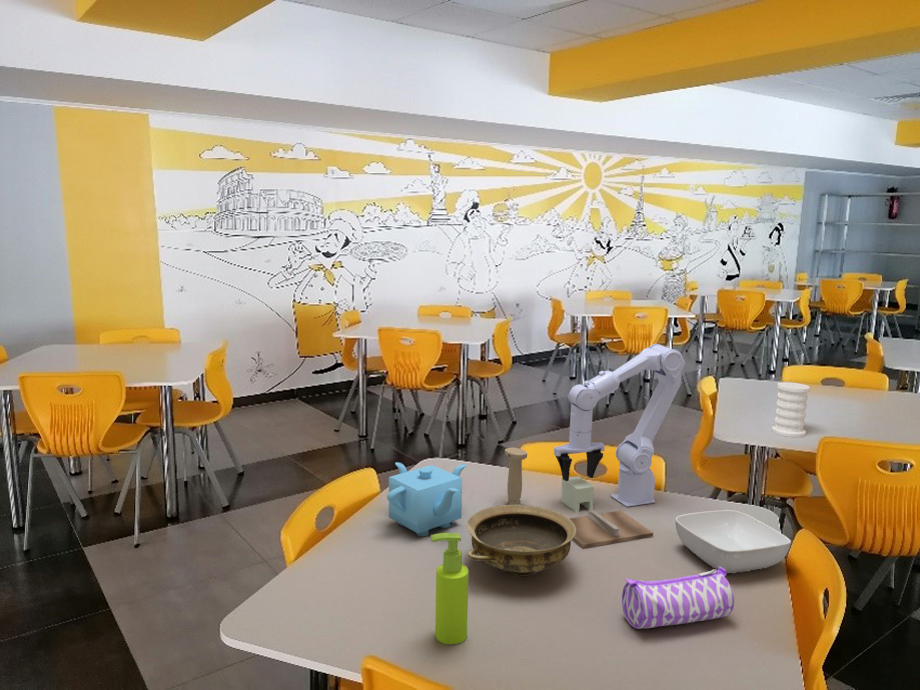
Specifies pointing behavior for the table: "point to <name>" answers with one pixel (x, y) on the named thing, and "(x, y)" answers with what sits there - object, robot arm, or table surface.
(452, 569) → the soap dispenser
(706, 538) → the square bowl
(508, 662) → the table surface
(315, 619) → the table surface
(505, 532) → the ceramic bowl
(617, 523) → the cleat board
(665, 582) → the pencil case
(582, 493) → the cabinet block
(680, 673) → the table surface
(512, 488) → the handle
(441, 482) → the teakettle
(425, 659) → the table surface
